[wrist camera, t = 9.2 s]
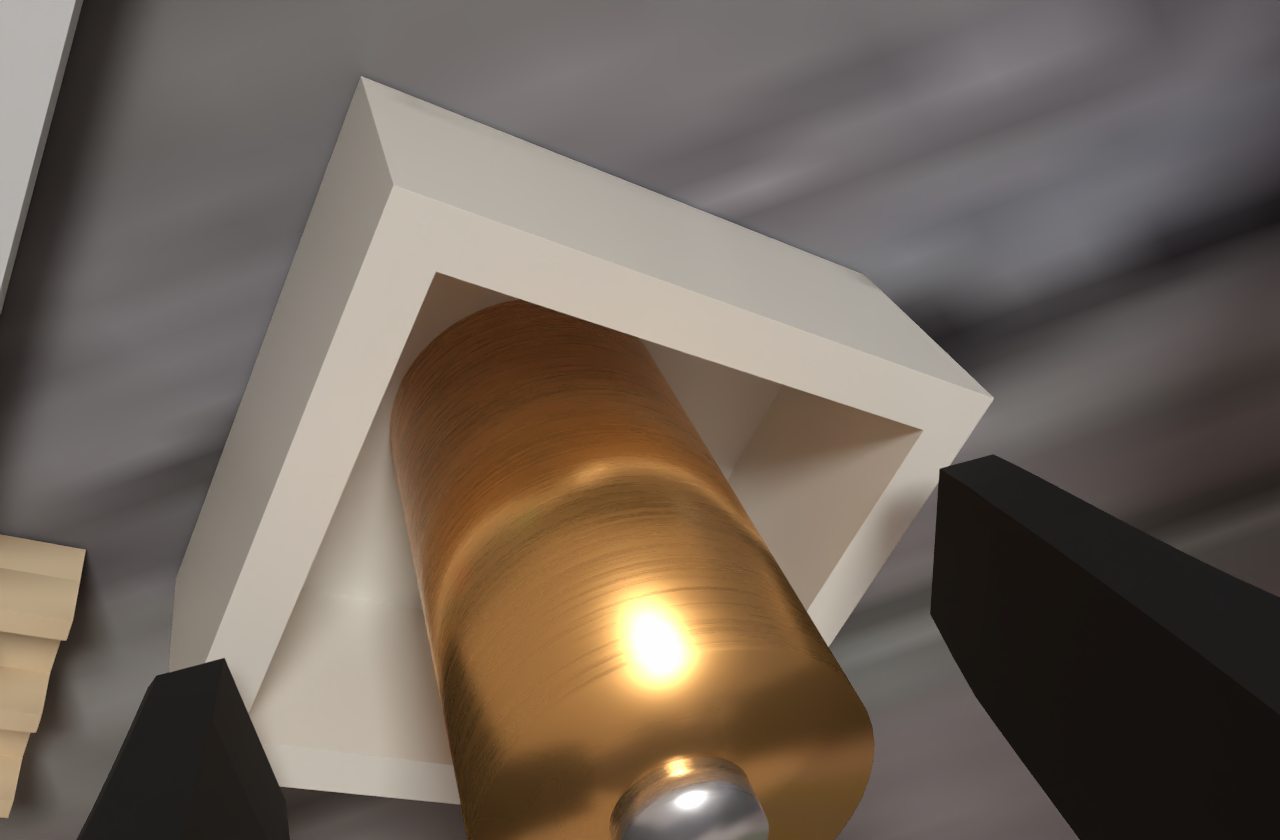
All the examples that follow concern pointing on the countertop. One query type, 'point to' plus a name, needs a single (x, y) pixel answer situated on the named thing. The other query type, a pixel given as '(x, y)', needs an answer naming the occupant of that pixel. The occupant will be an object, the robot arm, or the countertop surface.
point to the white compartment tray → (27, 105)
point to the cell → (607, 602)
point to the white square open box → (562, 281)
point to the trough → (30, 640)
